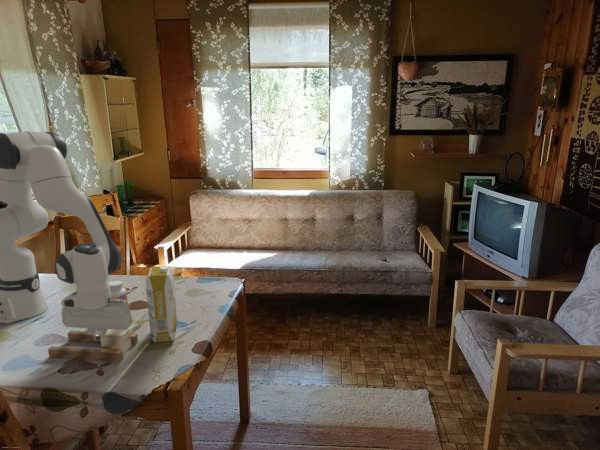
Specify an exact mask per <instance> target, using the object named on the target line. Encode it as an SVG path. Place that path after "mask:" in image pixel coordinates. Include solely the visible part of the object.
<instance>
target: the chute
mask: <svg viewBox="0 0 600 450" xmlns="http://www.w3.org/2000/svg"><path fill="white" fill-rule="evenodd" d="M98 332H99V333H102V332H101V331H98ZM130 337H131V346H133V345H135V346H136V345H137V344H138V343H139V338H138V333H132V332H130ZM67 338H68V342H74V343H75V342H76V343H77V342H78V343H97V344H101V341H94V336H93V335H92V334H91V333H90V331H84V330H83V331H79V330H70V331H68V332H67ZM47 352H48V357H49V359H67V360H80V361H81V360H82V361H97V362H98V361H100V362H116V363H117V362H119V363H121V362H123V360H124V355H123V351H122V350H115V349H102V348H101V349H100V348H86V347H85V348H83V347H82V348H81V347H70V346H69V347H66V346H50V347H49V348H48V349H47Z"/></svg>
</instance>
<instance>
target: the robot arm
mask: <svg viewBox="0 0 600 450" xmlns="http://www.w3.org/2000/svg"><path fill="white" fill-rule="evenodd" d="M67 154H68V146H67V144H66V141H65V139H64V138H63V137H62V136H61V135H60V134H58V133H55V132H50V131H45V132H44V131H42V132H41V131H31V130H30V131H18V132H7V133H5V132H0V202H2V203H4V204H7V206H6V207H3V208H0V323H2V324H11V323H14V322H17V321H21V320H22V321H23V320H26V319H30V318H34V317H35V316H39V315H41V314H42V313H44V312H46V311H47V309H48V308H49V307H48V304H47V302H46V300H45V298H44V295H43V292H42V290H41V287H40V286H41V285H40V283H41V282H40V281H41V280H40V277H39V276H40V275H39V272H38V271H37V266H36V261H35V254H34V253H33V252H32V250H30V249H29V248H27V247H22V246H17V244H16V242H15V239H18V238H22V237H26V236H30V235H34V234H36V233H38V232H40V231H43V230H45V229H46V228H47V227H48V224H49V222H50V221H49V220H50V218H49V214H48V212H47V210H49V211H51V212H55V213H61V214H65V215H66V214H67V215H72V216H75V217H77V218H79V219H80V220H81V221H82V222H83V223H84V225H85V227H86V229H87V231H88V232H89V235H90V237H91V239H92V241H93V242H81V243H79V244H76V245H75V246H73V248H72V250H66V251H64V252H62V253H60V254H58V256H57V258H56V259H55V262H54V267H55V273H56V276H57V279H58V280H60V281H62V282H65V283H67V284H70V285H75V286H76V290H74V291H73V292H71V293H70V294H68V295H67V296H65V297H64V298H62V300H61V301H60V304H61V306H62V308H61V320H62V321H61V322H62V324H63V326H65V327H66V328H78V329H80V328H81V329H88V332H90V333H91V334H92V335H93V336H94V341H101V340H100V337H101V336H102V335H104V334H105V333H106V332H107V331H108V330H109V329H114V330H126V329H128V328H129V329H130V326H131V325H132V324H133V317H132V313H131V309H130V307H131V306H130V303H129V302H128V300H127V301H124V299H112V298H111V293H110V285H109V283H110V281H108V275H110V274H114V273H115V272H117V270H118V269H119V267H120V265H121V262H122V254H121V251H120V250H119V248H118V247H117V245H116V243H115V242H114V240H113V239H112V237H111V235H110V234H109V231H108V229H107V228H106V225H105V224H104V221H103V220H102V219H103V218H102V217H101V215H100V213H99V211H98V210H97V207H96V206H95V204H94V203H93V201H92V199H91V198H90V196H88V195H86V194H85V193H82V192H81V191H80V190H79V188H77V186H76V184H75V182H74V181H73V178H72V174H71V172H70V169H69V166H68V163H67V161H66V158H67V156H68V155H67ZM33 196H34V198H33ZM35 200H36V202H35ZM99 329H100V330H99ZM98 330H99V331H98ZM99 332H102V333H99Z"/></svg>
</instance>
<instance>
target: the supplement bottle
mask: <svg viewBox="0 0 600 450" xmlns="http://www.w3.org/2000/svg"><path fill="white" fill-rule="evenodd" d="M109 285H110V293H111V298H112V299H124V301H127V302H128V293H127V289H126V288H125V287H123V286H124V285H123V281H122V280H112V281H109Z"/></svg>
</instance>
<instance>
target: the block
mask: <svg viewBox="0 0 600 450" xmlns="http://www.w3.org/2000/svg"><path fill="white" fill-rule="evenodd" d="M130 333H131V329H130V327H129V328H128V329H126V330H114V329H108V330H107V332H106V333H105V334H104V335H102V336H101V337H100V340H101V343H100V344H101V346H100V347H101V349H115V350H122V351H123V356H124V355H125V354H126V353H127V352H128V350H129V349H130V348H132V345H131V337H130Z"/></svg>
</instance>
